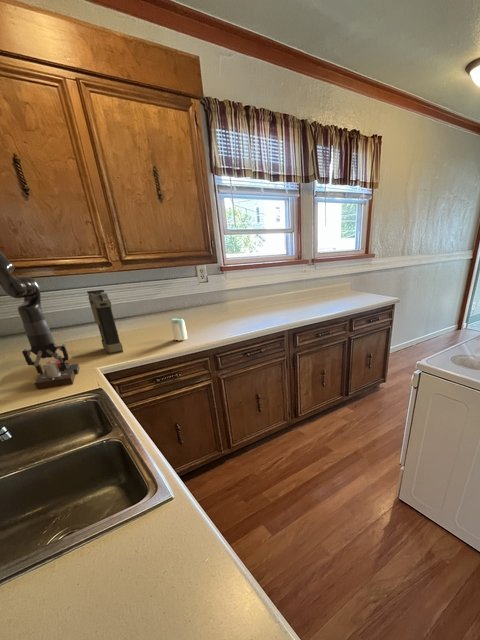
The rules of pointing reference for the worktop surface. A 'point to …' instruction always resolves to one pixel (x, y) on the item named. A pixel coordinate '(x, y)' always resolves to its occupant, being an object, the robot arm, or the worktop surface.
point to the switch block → (69, 368)
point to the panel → (55, 380)
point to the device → (105, 321)
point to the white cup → (52, 369)
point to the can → (179, 329)
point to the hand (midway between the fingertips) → (53, 372)
